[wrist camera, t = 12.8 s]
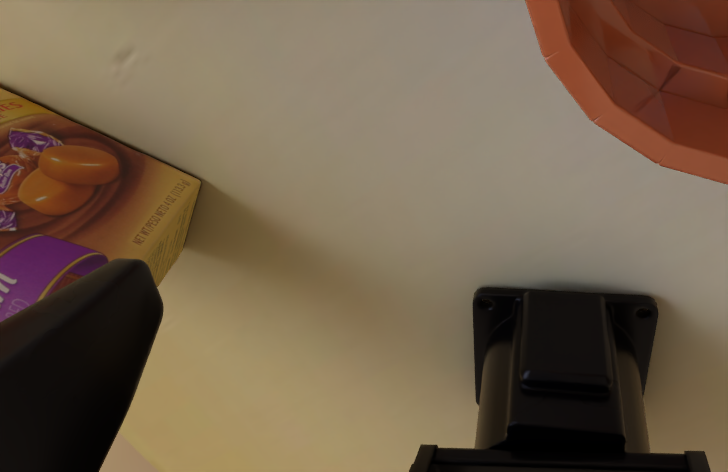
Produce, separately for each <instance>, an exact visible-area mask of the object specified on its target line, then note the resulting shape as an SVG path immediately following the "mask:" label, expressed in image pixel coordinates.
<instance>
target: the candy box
mask: <svg viewBox="0 0 728 472" xmlns="http://www.w3.org/2000/svg"><path fill="white" fill-rule="evenodd" d="M200 185H201V182H200V181H199V180H198V179H196V178H194V177H192V176H190V175H188V174H185V173H183V172H181V171H179V170H177V169H175V168H173V167H171V166H169V165H167V164H165V163H162V162H160V161H158V160H156V159H154V158H152V157H150V156H147V155H145V154H143V153H140V152H137V151H135V150H133V149H130V148H128V147H126V146H124V145H122V144H120V143H118V142H116V141H114V140H112V139H110V138H108V137H106V136H104V135H102V134H100V133H98V132H95V131H93V130H91V129H89V128H87V127H84V126H82V125H80V124H77V123H75V122H72V121H70V120H68V119H66V118H64V117H62V116H60V115H58V114H55V113H53V112H51V111H49V110H47V109H45V108H43V107H41V106H39V105H37V104H35V103H32V102H30V101H28V100H26V99H24V98H22V97H20V96H17V95H15V94H13V93H10V92H8V91H6V90H4V89H2V88H0V322H1V321H3V320H5V319H7V318H9V317H10V316H12V315H14V314H16V313H18V312H19V311H21V310H23V309H25V308H27V307H28V306H30V305H32V304H34V303H36V302H37V301H39V300H41V299H43V298H45V297H47V296H48V295H50V294H52V293H54V292H56V291H57V290H59V289H61V288H63V287H65V286H66V285H68V284H70V283H72V282H74V281H75V280H77V279H79V278H81V277H83V276H85V275H86V274H88V273H90V272H92V271H94V270H95V269H97V268H99V267H101V266H103V265H104V264H106V263H108V262H110V261H112V260H114V259H118V258H127V259H140V260H143V261H144V262H145V263H146V264H147V265H148V266H149V268H150V271H151V273H152V276H153V278H154V281H155V284H156V286H157V287H158V285H159V284H160V283H161V281H162V280H163V278H164V277H165V275H166V274H167V272H168V271H169V270H170V268H171V267H172V265H173V264H174V262H175V261H176V260H177V258H178V257H179V255H180V253H181V252H182V250H183V245H184V242H185V238H186V234H187V231H188V227H189V224H190V220H191V217H192V213H193V209H194V206H195V202H196V199H197V195H198V192H199V189H200Z"/></svg>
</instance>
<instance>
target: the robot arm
mask: <svg viewBox="0 0 728 472" xmlns="http://www.w3.org/2000/svg"><path fill="white" fill-rule="evenodd" d="M484 299H487V300H490V301H491V302H483V301H482V300H484ZM642 308H645V309H648V310H646V311H638V310H639V309H642ZM162 317H163V302H162V299H161V296H160V294H159V291H158V289H157V286H156V284H155V281H154V278H153V276H152V273H151V271H150V268H149V266H148V265H147V264H146V263H145V262H144V261H143V260H140V259H127V258H118V259H114V260H112V261H110V262H108V263H106V264H104V265H103V266H101V267H99V268H97V269H95V270H94V271H92V272H90V273H88V274H86V275H85V276H83V277H81V278H79V279H77V280H75V281H74V282H72V283H70V284H68V285H66V286H65V287H63V288H61V289H59V290H57V291H56V292H54V293H52V294H50V295H48V296H47V297H45V298H43V299H41V300H39V301H37V302H36V303H34V304H32V305H30V306H28V307H27V308H25V309H23V310H21V311H19V312H18V313H16V314H14V315H12V316H10V317H9V318H7V319H5V320H3V321H1V322H0V472H99V470H100V468H101V466H102V464H103V462H104V460H105V458H106V456H107V454H108V452H109V449H110V448H111V446H112V444H113V441H114V439H115V437H116V435H117V433H118V431H119V429H120V427H121V425H122V423H123V421H124V418H125V416H126V414H127V412H128V410H129V407H130V405H131V402H132V400H133V397H134V395H135V392H136V389H137V387H138V384H139V381H140V378H141V376H142V373H143V370H144V367H145V365H146V362H147V359H148V356H149V354H150V351H151V348H152V345H153V343H154V340H155V337H156V334H157V332H158V329H159V326H160V323H161V321H162ZM657 320H658V308H657V303H656V301H655V300H654V299H653V298H651V297H649V296H642V295H623V294H604V293H585V292H566V291H546V290H527V289H508V288H489V287H486V288H480V289H478V290H477V291H476V292H475V293H474V298H473V329H474V359H475V389H476V402H477V404H478V405H479V412H478V422H477V431H476V440H475V449H470V448H438V446H437V445H421V446H420V448H419V451H418V454H417V456H416V459H415V462H414V464H412V465H411V468H410V470H409V472H711V471H710V468H709V464H708V461H707V458H706V455H705V452H704V451H684V454H670V453H650V446H649V438H648V431H647V424H646V417H645V409H644V402H643V395H644V389H645V384H646V378H647V373H648V368H649V362H650V357H651V352H652V346H653V341H654V336H655V330H656V325H657Z"/></svg>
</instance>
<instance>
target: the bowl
mask: <svg viewBox="0 0 728 472" xmlns="http://www.w3.org/2000/svg"><path fill="white" fill-rule="evenodd" d="M525 2H526V5H527V8H528V11H529V14H530V18H531V21H532V24H533V27H534V30H535V34H536V37H537V40H538V43H539V46H540V49H541V53H542V55H543V56H544V57H545V61H546V63H547V64H548V65H549V67H550V68H551V69H552V71H553V72H554V73H555V75H556V76H557V77H558V79H559V80H560V81H561V82H562V84H563V85H564V86H565V88H566V89H567V90H568V92H569V93H570V94H571V96H572V97H573V98H574V100H575V101H576V102H577V103H578V105H579V106H580V107H581V109H582V110H583V111H584V113H585V114H586V115H587V117H588V118H589V119H590V120H591V121H593V122H594V123H595V124H596V125H598V126H599V127H601V128H602V129H604V130H605V131H607V132H608V133H610V134H611V135H613V136H615V137H616V138H618V139H619V140H621V141H622V142H624V143H625V144H627V145H628V146H630V147H631V148H633V149H634V150H636V151H638V152H639V153H641V154H642V155H644V156H645V157H647V158H648V159H650V160H651V161H653V162H654V163H657V164H659V165H660V166H663V167H667V168H671V169H674V170H678V171H681V172H685V173H688V174H692V175H696V176H699V177H703V178H706V179H710V180H713V181H717V182H721V183H724V184H728V0H525Z"/></svg>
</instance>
